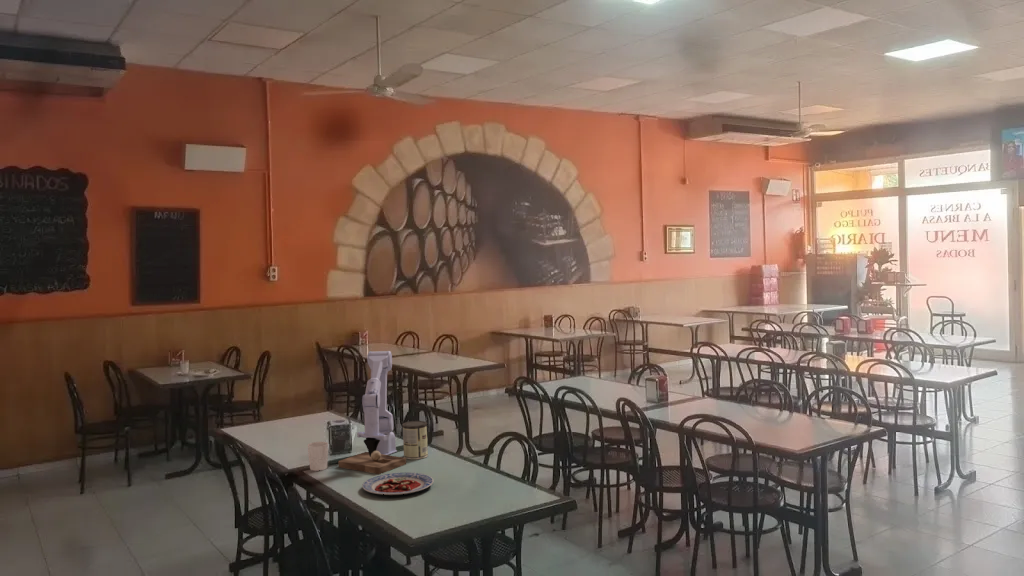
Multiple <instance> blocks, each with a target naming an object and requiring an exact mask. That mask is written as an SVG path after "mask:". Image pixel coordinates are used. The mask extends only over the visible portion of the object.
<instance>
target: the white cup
mask: <svg viewBox="0 0 1024 576" xmlns="http://www.w3.org/2000/svg"><path fill="white" fill-rule="evenodd" d="M328 446H329V443H328V442H326V441H315V442H309V443H308V444H307V451H308V452H307V455H308V463H309V469H310V471H313V472H317V471H318V472H320V471H325V470H327V469H328V459H329V457H328V456H329V453H328V452H329V447H328ZM319 470H320V471H319Z"/></svg>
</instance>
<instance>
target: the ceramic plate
mask: <svg viewBox="0 0 1024 576" xmlns="http://www.w3.org/2000/svg"><path fill="white" fill-rule="evenodd" d="M434 482H435V481H434V478H433V477H432V476H430V475H427V474H424V473H420V472H392V473H386V474H385V473H384V474H379V475H376V476H374V477H371V478H369V479H366V480H365V481H364V482H363V483H362V489H363V490H364V491H366V492H368V493H371V494H375V495H383V494H384V496H403V494H404V495H409V494H413V493H417V492H419V491H424V490H425V489H427V488H429V487H431V486H432V485H433V483H434Z"/></svg>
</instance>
